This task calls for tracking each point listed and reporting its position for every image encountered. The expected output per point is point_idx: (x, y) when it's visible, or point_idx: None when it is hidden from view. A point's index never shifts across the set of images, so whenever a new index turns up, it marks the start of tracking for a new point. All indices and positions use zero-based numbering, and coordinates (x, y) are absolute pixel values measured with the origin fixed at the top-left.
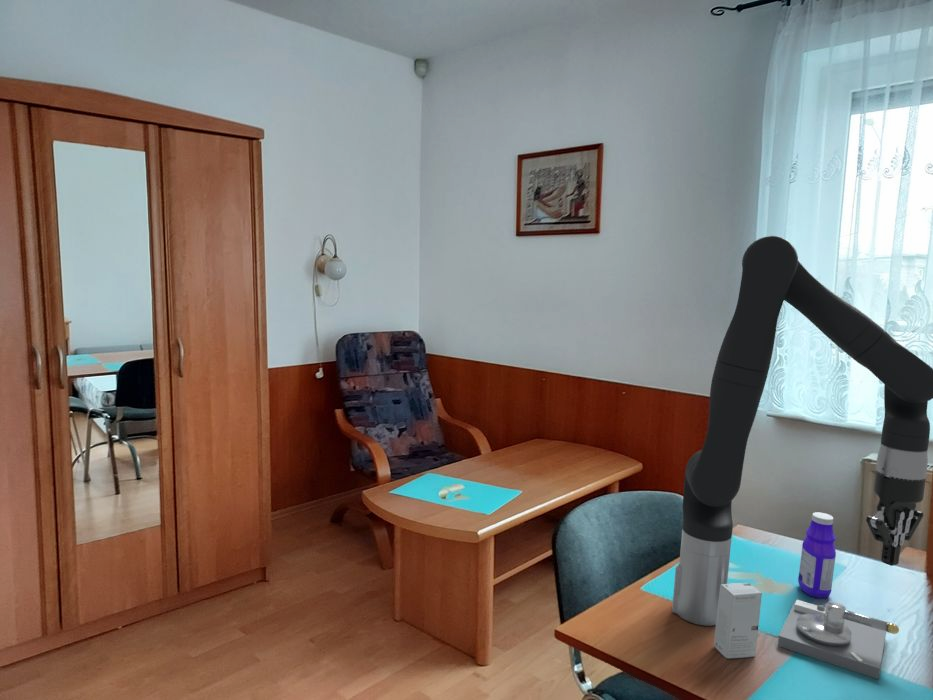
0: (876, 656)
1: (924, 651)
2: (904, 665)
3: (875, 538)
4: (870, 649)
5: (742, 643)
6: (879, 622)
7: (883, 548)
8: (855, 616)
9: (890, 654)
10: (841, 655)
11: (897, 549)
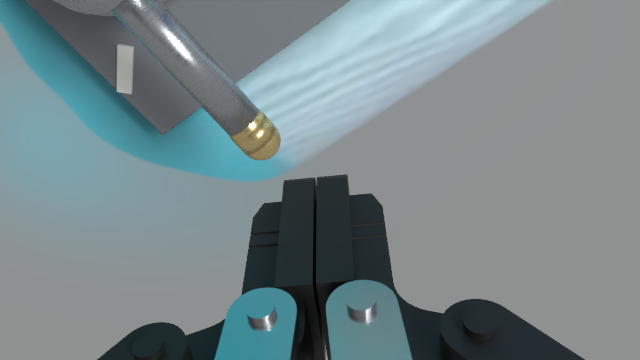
0: None
1: (488, 38)
2: (328, 81)
3: (117, 353)
4: (223, 43)
5: None
6: (215, 116)
7: (244, 281)
8: (145, 45)
9: (342, 20)
10: (76, 44)
11: (324, 341)
